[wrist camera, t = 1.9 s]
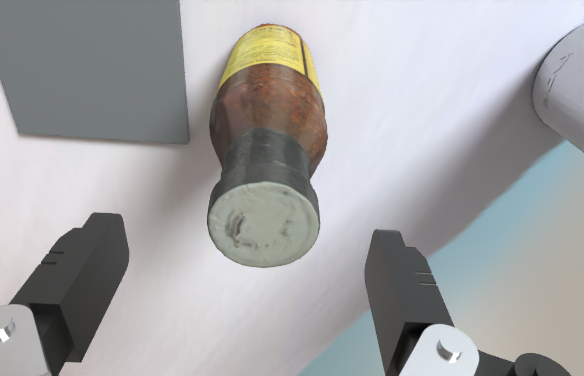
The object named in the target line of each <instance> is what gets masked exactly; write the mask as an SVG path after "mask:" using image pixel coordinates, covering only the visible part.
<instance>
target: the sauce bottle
mask: <svg viewBox="0 0 584 376" xmlns="http://www.w3.org/2000/svg"><path fill="white" fill-rule="evenodd" d="M209 128H210V137H211V141H212V144H213V147H214V149H215V151H216V154H217V156H218V158H219V161H220V163H221V166H222V172H221V179H220V181H219V182H218V183H217V184H216V185H215V187H214V189H213V191H212V193H211V196H210V202H209V208H208V215H207V226H208V231H209V235H210V237H211V239H212V241H213V243H214V244H215V246H216V247H217V249H218V250H220V251H221V252H222V253H223V254H224V256H226V257H227V258H229V259H231V260H232V261H234V262H236V263H239V264H241V265H245V266H251V267H260V268H267V267H276V266H282V265H286V264H290V263H292V262H294V261H295V260H297V259H300V258H301V257H302V256H303V255H305V254H306V253H307V252H308V251H309V250H310V249H311V248H312V246H313V245H314V243H315V241H316V239H317V237H318V234H319V229H320V215H319V206H318V199H317V195H316V192H315V190H314V189H313V188H312V185H311V184H310V179H311V177H312V175H313V174H314V172H315V170H316V168H317V166H318V165H319V163H320V161H321V159H322V158H323V156H324V153H325V151H326V146H327V139H328V135H327V124H326V120H325V108H324V103H323V99H322V95H321V91H320V87H319V83H318V79H317V75H316V71H315V67H314V63H313V59H312V55H311V53H310V50H309V48H308V47H307V45H306V43H305V42H304V41H303V40H302V39H301V37H300V35H299V34H298V33H296V32H295V31H293V30H292V29H290V28H288V27H285V26H283V25H275V24H269V23H268V24H261V25H260V26H257V27H255V28H253V29H251V30H250V31H248V32H247V33H245V34H244V35H243V36H242V37H241V38H240V39H239V41H238V42H237V43H236V45H235V46H234V48H233V50H232V52H231V55H230V58H229V60H228V63H227V66H226V69H225V71H224V74H223V76H222V79H221V82H220V85H219V88H218V90H217V93H216V96H215V99H214V102H213V105H212V109H211V114H210V125H209Z"/></svg>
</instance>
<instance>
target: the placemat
mask: <svg viewBox="0 0 584 376" xmlns="http://www.w3.org/2000/svg"><path fill="white" fill-rule="evenodd" d="M0 79H1V82H2V85H3V88H4V91H5V94H6V96H7V99H8V102H9V105H10V108H11V111H12V114H13V117H14V120H15V123H16V126H17V129H18V132H19V133H29V134H44V135H58V136H73V137H87V138H101V139H116V140H130V141H145V142H159V143H174V144H188V143H189V141H190V138H189V125H188V111H187V98H186V84H185V71H184V58H183V44H182V31H181V18H180V4H179V0H0Z"/></svg>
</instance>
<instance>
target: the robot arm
mask: <svg viewBox="0 0 584 376" xmlns="http://www.w3.org/2000/svg"><path fill="white" fill-rule="evenodd" d="M533 104H534V108H535V110H536V113H537V115H538V116H539V118H540V119H541V120H542V121H543V122H544V123H545V124H546V125H548V126H549V127H550V128H552V129H553V130H555V131H556V132H557V133H559V134H560V135H561V136H563V137H564V138H565V139H567V140H568V141H569V142H571V143H572V144H573V145H574V146H576V147H577V148H579V149H580V150H581V151H583V152H584V25H582V26H580V27H578V28H577V29H575V30H574V31H573V32H571V33H570V34H568V35H567V36H566V37H564V38H563V39H562V40H561V41H560V42H559V43H558V44H557V45H556V46H555V47H554V48H553V49H552V51H551V52H550V53H549V55H548V56H547V57H546V59H545V60H544V62H543V63H542V65H541V67H540V69H539V71H538V73H537V76H536V79H535V82H534V86H533ZM128 263H129V248H128V243H127V238H126V233H125V228H124V223H123V219H122V216H121V215H120V214H113V213H93V214H91V216H90V217H89V218H88V220H87V221H86V223H85V224H84V225H83V227H82V228H73V229H72V230H70V231H69V232H67V233H66V234H65V235H63V236H62V237H60V238H59V239H58V240H57V242H56V243H55V244H54V246H53V247H52V248H51V249H50V251H49V254H47V255H46V256H45V257H44V259H43V260H42V261H41V265H40V264H39V265H38V266H37V268H36V269H35V270H34V272H33V273H32V274H31V276H30V277H29V278H28V280H27V281H26V282H25V283H24V285H23V286H22V287H21V289H20V290H19V291H18V293H17V294H16V295H15V297H14V298H13V299H12V300H11V302H10V303H9V304H8V305H4V306H0V376H59V373H60V371H61V369H62V367H63V365H64V363H65V362H82V360H83V357H84V355H85V353H86V351H87V349H88V347H89V345H90V343H91V341H92V339H93V337H94V335H95V333H96V331H97V329H98V327H99V325H100V323H101V321H102V319H103V317H104V315H105V313H106V311H107V309H108V307H109V304H110V302H111V300H112V298H113V296H114V294H115V292H116V290H117V288H118V286H119V284H120V282H121V280H122V278H123V276H124V274H125V272H126V270H127V267H128ZM365 284H366V288H367V293H368V298H369V302H370V307H371V311H372V316H373V320H374V325H375V330H376V334H377V339H378V344H379V348H380V352H381V357H382V362H383V367H384V371H385V376H571V375H570V374H569V372H567V371H566V370H565V369H564V368H563V367H562V366H561V365H560V364H558V363H557V362H555V361H553V360H551V359H550V358H548V357H545V356H543V355H540V354H535V353H526V354H523V355H520V356H519V357H518V358H517V359H516V361H515V362H514V363H513V362H511V361H508V360H505V359H502V358H499V357H496V356H492V355H489V354H487V353H484V352H481V351H480V350H478V349H477V348H476V346H475V344H474V343H473V341H472V340H471V339H470V338H469V337H468V336H467V335H466V334H464V333H463V332H462V331H460V330H458V329H456V328H455V327H454V324H453V322H452V320H451V317H450V315H449V313H448V310H447V308H446V306H445V303H444V301H443V298H442V296H441V294H440V292H439V289H438V287H437V286H436V282H435V279H434V277H433V275H431V270H430V268H429V265H428V263H427V260H426V259H425V258H424V257H423V256H422V255H421V253H420V252H419V251H418V250H417V249H416V248H415V247H405V244H404V241H403V239H402V236H401V233H400V232H399V231H396V230H378V229H376V230H374V232H373V236H372V240H371V244H370V248H369V252H368V256H367V260H366V264H365Z"/></svg>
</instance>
